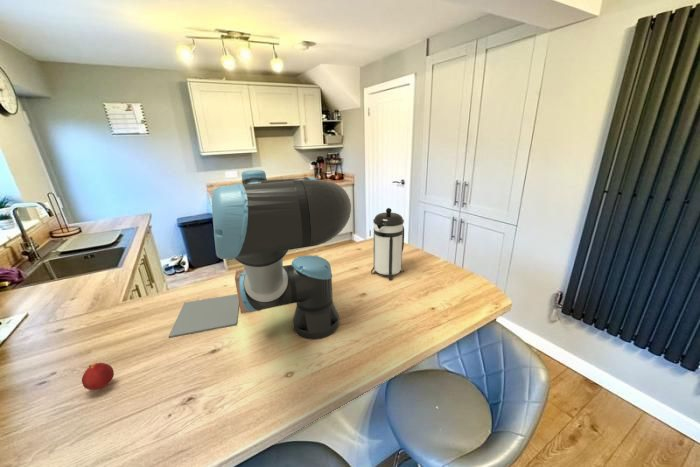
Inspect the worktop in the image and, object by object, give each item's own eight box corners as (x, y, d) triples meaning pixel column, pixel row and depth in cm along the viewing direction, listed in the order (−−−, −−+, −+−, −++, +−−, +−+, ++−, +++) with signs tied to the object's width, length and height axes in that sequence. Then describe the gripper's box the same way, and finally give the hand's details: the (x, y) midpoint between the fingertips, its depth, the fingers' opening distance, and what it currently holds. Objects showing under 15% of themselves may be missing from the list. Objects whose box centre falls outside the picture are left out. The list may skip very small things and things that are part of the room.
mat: (236, 325, 93) (236, 323, 93) (168, 338, 88) (168, 336, 88) (240, 294, 111) (240, 293, 111) (184, 303, 106) (184, 302, 106)
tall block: (255, 310, 101) (250, 276, 96) (241, 313, 99) (234, 278, 95) (256, 300, 107) (250, 267, 102) (242, 303, 106) (236, 269, 101)
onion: (99, 379, 73) (89, 355, 71) (122, 377, 74) (113, 353, 71) (81, 399, 68) (69, 373, 65) (106, 396, 68) (96, 371, 65)
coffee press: (409, 280, 119) (412, 212, 109) (371, 281, 119) (371, 213, 109) (402, 263, 135) (405, 202, 125) (369, 263, 136) (369, 203, 126)
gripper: (278, 212, 99) (285, 272, 107) (239, 216, 96) (249, 277, 104) (279, 218, 93) (286, 281, 100) (237, 222, 89) (248, 287, 97)
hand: (267, 279), depth 102 cm, fingers closed
